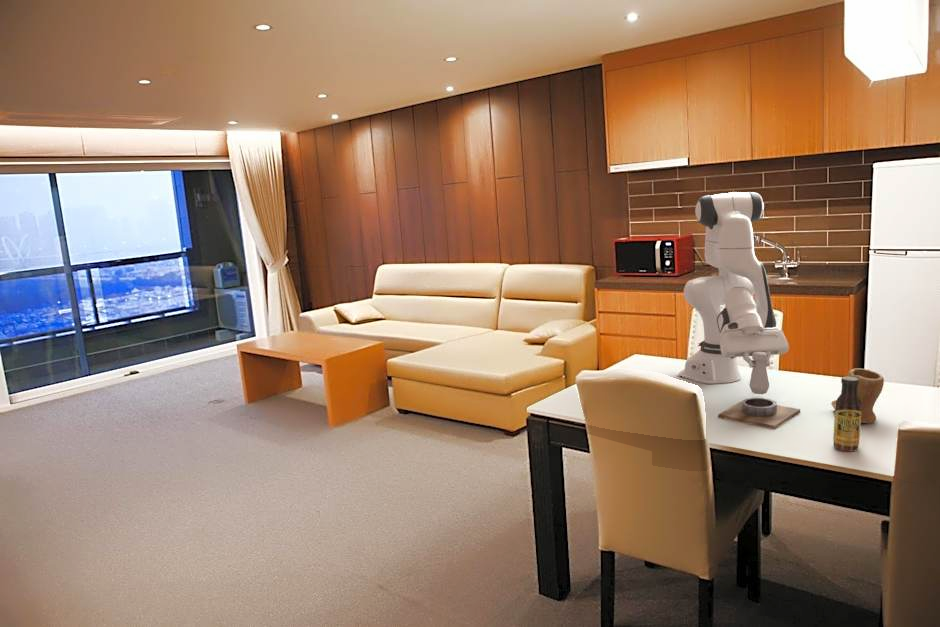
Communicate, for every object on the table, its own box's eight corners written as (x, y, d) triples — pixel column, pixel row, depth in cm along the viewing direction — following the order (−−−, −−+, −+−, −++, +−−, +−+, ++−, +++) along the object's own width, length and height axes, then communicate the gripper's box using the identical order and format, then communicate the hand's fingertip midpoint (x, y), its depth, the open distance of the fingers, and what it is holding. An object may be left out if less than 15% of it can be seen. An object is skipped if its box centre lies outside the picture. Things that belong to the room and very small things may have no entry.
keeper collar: (736, 413, 215) (736, 404, 214) (751, 404, 221) (751, 395, 221) (767, 419, 208) (767, 409, 207) (782, 410, 214) (782, 401, 214)
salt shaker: (746, 390, 215) (746, 350, 213) (764, 388, 215) (765, 349, 213) (753, 395, 210) (754, 355, 207) (772, 394, 210) (773, 354, 207)
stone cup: (887, 426, 197) (889, 376, 194) (842, 425, 200) (843, 377, 198) (872, 409, 211) (873, 362, 209) (830, 408, 215) (831, 363, 212)
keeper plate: (718, 417, 216) (718, 414, 215) (745, 402, 227) (745, 399, 227) (774, 428, 202) (774, 425, 202) (800, 412, 214) (800, 409, 214)
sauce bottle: (834, 451, 183) (835, 381, 179) (831, 443, 189) (832, 374, 185) (862, 453, 181) (864, 381, 177) (858, 444, 186) (859, 375, 183)
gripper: (778, 332, 220) (791, 369, 212) (714, 336, 221) (725, 373, 213) (784, 321, 215) (797, 359, 207) (719, 325, 216) (729, 362, 208)
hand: (760, 366), depth 210 cm, fingers closed on salt shaker, 3 cm apart
